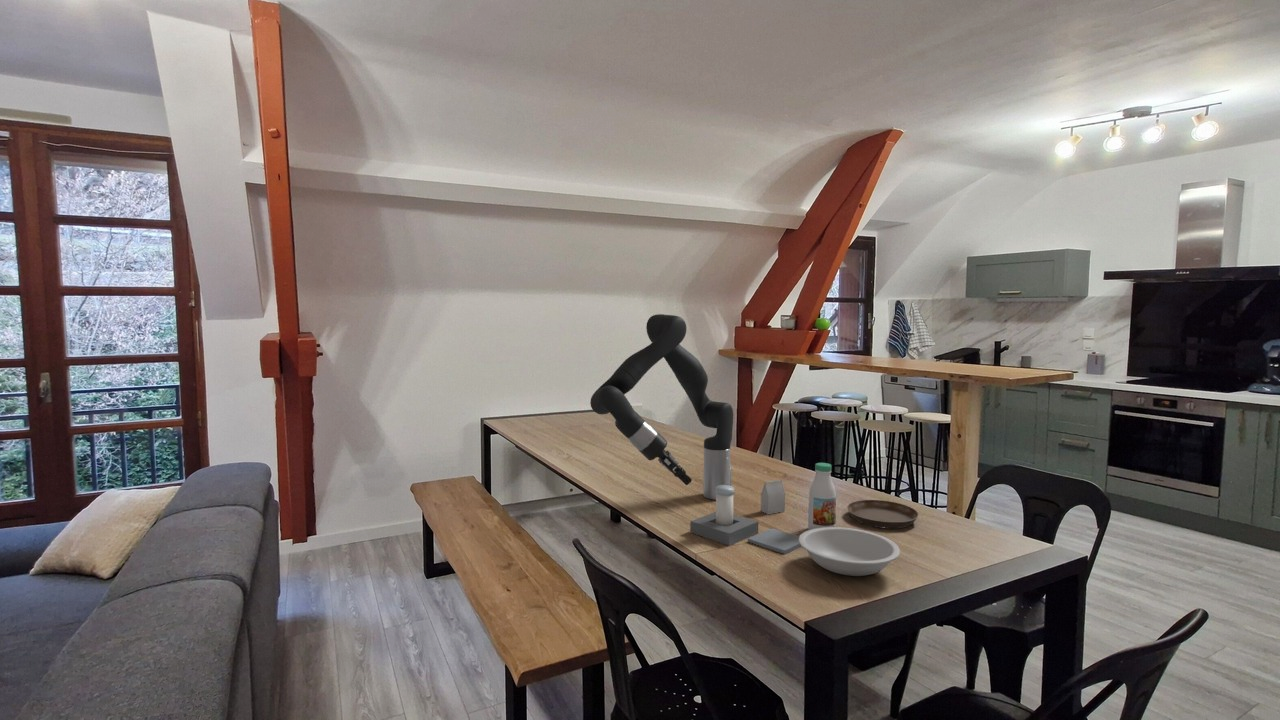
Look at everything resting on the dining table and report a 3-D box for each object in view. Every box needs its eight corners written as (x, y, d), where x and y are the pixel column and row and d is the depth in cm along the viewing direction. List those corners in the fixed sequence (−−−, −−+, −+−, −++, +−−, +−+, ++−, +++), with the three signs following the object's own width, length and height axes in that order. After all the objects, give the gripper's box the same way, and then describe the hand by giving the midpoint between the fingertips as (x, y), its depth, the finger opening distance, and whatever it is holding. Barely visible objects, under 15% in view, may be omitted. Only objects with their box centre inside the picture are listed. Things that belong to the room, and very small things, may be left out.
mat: (771, 531, 180) (771, 528, 180) (808, 542, 171) (808, 538, 171) (747, 542, 171) (747, 538, 171) (785, 554, 163) (785, 550, 163)
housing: (719, 521, 188) (720, 510, 188) (758, 533, 178) (758, 521, 178) (690, 532, 178) (690, 521, 178) (729, 545, 168) (729, 533, 168)
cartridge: (722, 528, 182) (723, 484, 181) (737, 533, 178) (738, 487, 177) (711, 532, 178) (711, 487, 177) (726, 537, 174) (726, 491, 173)
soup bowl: (921, 583, 145) (922, 556, 145) (833, 596, 139) (834, 568, 138) (858, 546, 168) (859, 523, 168) (780, 556, 162) (781, 531, 161)
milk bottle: (803, 531, 180) (804, 464, 179) (815, 524, 186) (817, 459, 184) (827, 537, 175) (829, 468, 173) (839, 530, 180) (841, 464, 179)
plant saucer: (882, 535, 177) (882, 524, 177) (832, 514, 196) (833, 504, 196) (933, 525, 186) (933, 515, 185) (881, 506, 204) (881, 496, 204)
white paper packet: (784, 511, 198) (785, 481, 197) (768, 514, 195) (768, 483, 194) (777, 508, 201) (778, 478, 200) (760, 511, 198) (761, 481, 197)
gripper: (660, 435, 167) (701, 475, 169) (652, 426, 181) (690, 463, 183) (640, 455, 166) (681, 495, 169) (635, 444, 180) (673, 481, 183)
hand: (686, 478), depth 176 cm, fingers open, 8 cm apart
